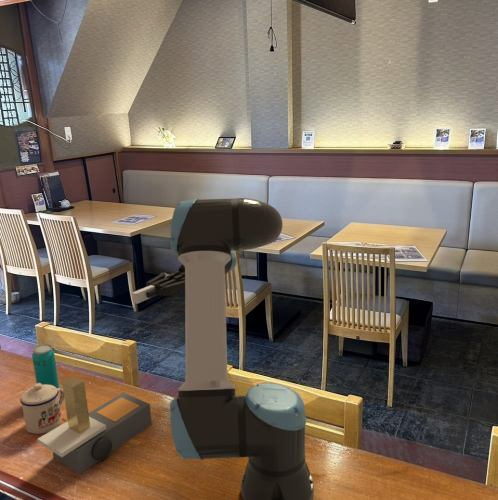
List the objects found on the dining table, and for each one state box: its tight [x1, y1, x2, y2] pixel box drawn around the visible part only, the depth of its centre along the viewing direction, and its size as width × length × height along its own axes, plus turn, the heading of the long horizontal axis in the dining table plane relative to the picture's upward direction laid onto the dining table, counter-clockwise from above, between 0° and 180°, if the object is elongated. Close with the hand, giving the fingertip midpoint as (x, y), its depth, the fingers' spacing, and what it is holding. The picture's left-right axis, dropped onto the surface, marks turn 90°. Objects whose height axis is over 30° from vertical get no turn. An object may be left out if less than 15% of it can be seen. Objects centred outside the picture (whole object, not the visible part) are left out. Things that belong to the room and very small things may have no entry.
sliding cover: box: [37, 376, 106, 457], centre depth 115 cm, size 12×9×13 cm
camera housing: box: [52, 392, 153, 475], centre depth 124 cm, size 22×11×6 cm, turn 144°
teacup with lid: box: [19, 383, 65, 435], centre depth 132 cm, size 12×9×12 cm
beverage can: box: [31, 344, 60, 394], centre depth 143 cm, size 6×6×15 cm
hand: (134, 298), depth 129 cm, fingers closed
